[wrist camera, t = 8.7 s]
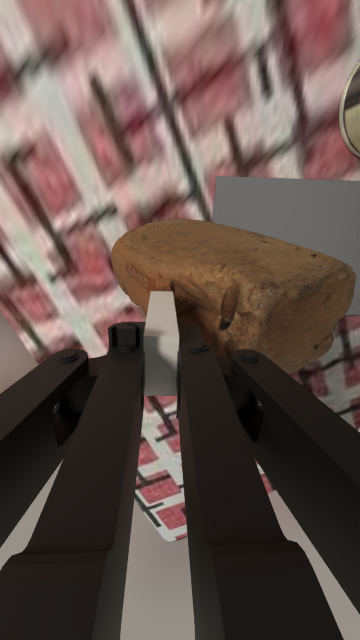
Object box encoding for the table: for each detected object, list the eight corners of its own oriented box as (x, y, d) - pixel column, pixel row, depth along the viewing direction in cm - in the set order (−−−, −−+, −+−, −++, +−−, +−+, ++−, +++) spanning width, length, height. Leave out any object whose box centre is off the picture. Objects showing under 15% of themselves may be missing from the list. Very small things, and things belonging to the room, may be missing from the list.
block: (197, 214, 30) (382, 252, 14) (197, 277, 34) (346, 363, 18) (100, 224, 26) (211, 294, 10) (112, 295, 30) (208, 427, 14)
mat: (206, 313, 35) (206, 314, 35) (216, 176, 29) (216, 176, 29) (366, 314, 37) (367, 315, 36) (409, 183, 30) (411, 183, 30)
